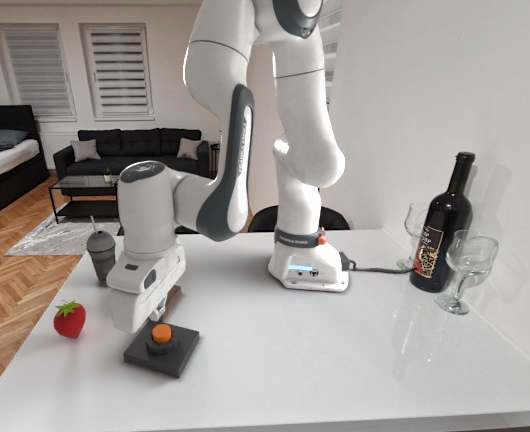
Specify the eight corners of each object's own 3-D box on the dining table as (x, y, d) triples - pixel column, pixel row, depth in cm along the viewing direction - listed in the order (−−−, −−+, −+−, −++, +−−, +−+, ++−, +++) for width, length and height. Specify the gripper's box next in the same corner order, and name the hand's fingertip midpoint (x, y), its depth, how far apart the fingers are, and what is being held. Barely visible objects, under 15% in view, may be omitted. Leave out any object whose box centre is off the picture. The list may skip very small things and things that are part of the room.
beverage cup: (113, 291, 80) (100, 223, 72) (88, 288, 82) (73, 221, 73) (126, 275, 87) (116, 211, 79) (103, 272, 88) (91, 209, 80)
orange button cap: (174, 332, 62) (173, 326, 62) (165, 345, 59) (165, 339, 59) (158, 328, 63) (158, 322, 63) (149, 341, 60) (148, 334, 60)
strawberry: (53, 352, 62) (41, 314, 58) (68, 325, 69) (58, 289, 65) (82, 350, 63) (72, 313, 59) (94, 324, 70) (86, 288, 66)
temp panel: (181, 295, 79) (181, 285, 77) (163, 322, 70) (161, 311, 69) (141, 286, 82) (140, 277, 81) (119, 310, 74) (117, 300, 72)
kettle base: (199, 339, 65) (198, 324, 64) (179, 378, 57) (177, 363, 55) (150, 326, 69) (149, 312, 67) (124, 361, 60) (121, 346, 59)
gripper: (164, 227, 64) (168, 282, 69) (98, 284, 46) (111, 351, 51) (191, 232, 62) (194, 287, 67) (134, 293, 44) (143, 361, 50)
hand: (157, 315), depth 59 cm, fingers closed
